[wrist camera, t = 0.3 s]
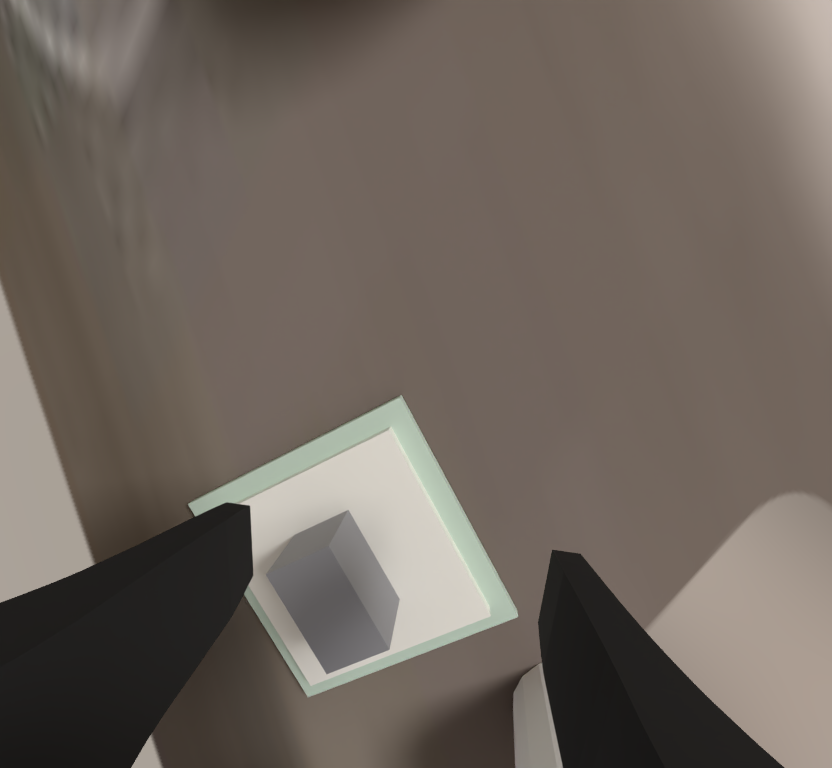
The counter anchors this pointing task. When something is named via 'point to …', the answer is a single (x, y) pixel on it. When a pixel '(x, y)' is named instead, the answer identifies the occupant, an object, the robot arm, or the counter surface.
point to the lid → (357, 561)
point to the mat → (439, 493)
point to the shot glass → (534, 723)
